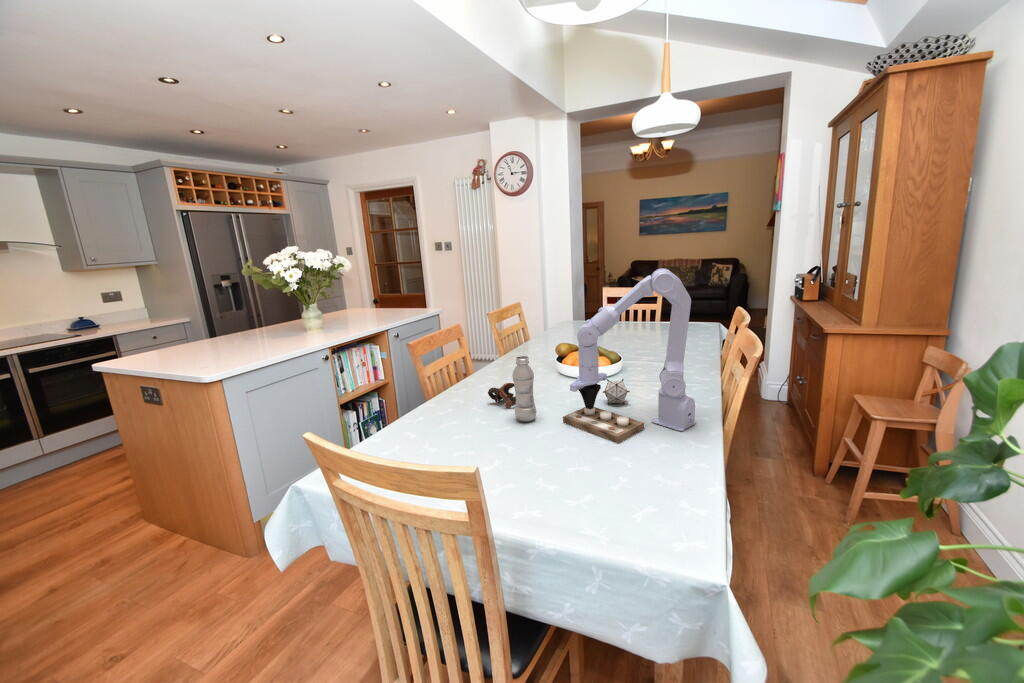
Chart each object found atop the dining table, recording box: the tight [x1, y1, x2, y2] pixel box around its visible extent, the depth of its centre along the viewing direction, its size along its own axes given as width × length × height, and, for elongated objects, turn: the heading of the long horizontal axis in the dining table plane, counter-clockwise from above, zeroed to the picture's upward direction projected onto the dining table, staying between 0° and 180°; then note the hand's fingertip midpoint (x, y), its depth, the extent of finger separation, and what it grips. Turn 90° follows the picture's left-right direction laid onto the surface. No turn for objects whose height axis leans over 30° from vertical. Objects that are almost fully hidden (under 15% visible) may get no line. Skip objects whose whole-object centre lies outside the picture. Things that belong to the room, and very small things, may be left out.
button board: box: [562, 406, 645, 444], centre depth 127 cm, size 20×12×2 cm, turn 40°
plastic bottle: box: [511, 355, 538, 423], centre depth 133 cm, size 6×7×20 cm
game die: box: [602, 378, 631, 406], centre depth 143 cm, size 9×8×10 cm
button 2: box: [617, 416, 629, 428], centre depth 123 cm, size 3×3×2 cm
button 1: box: [583, 406, 595, 416], centre depth 132 cm, size 3×3×2 cm
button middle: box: [600, 410, 612, 422], centre depth 128 cm, size 3×3×2 cm
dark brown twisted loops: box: [487, 382, 516, 409], centre depth 148 cm, size 12×10×8 cm
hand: (589, 407), depth 132 cm, fingers closed
